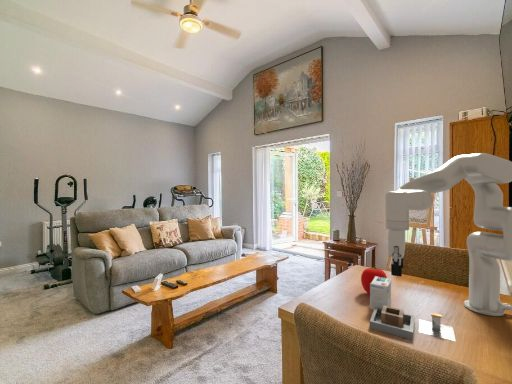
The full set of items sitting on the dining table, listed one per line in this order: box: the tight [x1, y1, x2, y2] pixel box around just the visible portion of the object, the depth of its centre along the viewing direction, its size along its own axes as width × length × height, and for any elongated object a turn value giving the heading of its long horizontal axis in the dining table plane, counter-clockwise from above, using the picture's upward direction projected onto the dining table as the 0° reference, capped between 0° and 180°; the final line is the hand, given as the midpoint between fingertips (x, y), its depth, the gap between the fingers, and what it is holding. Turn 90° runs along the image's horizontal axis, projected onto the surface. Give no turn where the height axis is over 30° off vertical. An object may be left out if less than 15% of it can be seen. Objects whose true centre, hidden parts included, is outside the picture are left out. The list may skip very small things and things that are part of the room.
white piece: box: [418, 312, 456, 342], centre depth 90 cm, size 10×10×6 cm
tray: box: [369, 307, 415, 341], centre depth 93 cm, size 13×13×4 cm
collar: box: [381, 305, 405, 328], centre depth 93 cm, size 7×7×5 cm
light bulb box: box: [369, 276, 392, 310], centre depth 110 cm, size 11×7×11 cm, turn 145°
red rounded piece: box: [360, 266, 388, 295], centre depth 121 cm, size 11×11×13 cm
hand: (397, 271), depth 95 cm, fingers open, 9 cm apart
